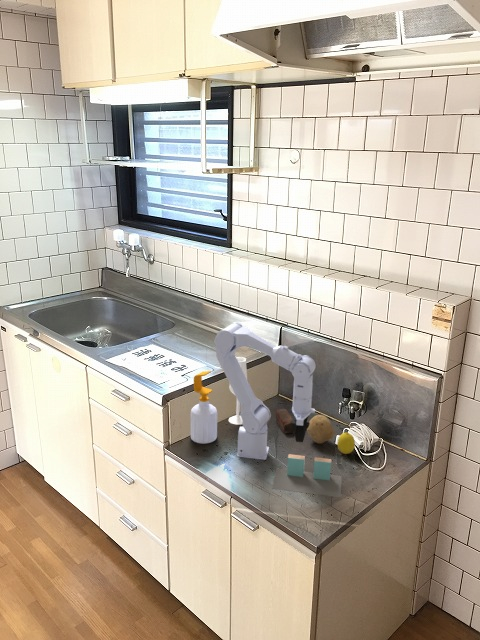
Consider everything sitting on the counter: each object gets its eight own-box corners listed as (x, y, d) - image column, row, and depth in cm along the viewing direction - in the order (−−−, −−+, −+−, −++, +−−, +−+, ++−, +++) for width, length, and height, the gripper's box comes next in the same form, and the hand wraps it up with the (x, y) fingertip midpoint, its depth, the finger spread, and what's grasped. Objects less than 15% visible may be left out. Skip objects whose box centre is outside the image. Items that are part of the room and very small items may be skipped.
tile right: (313, 478, 169) (314, 461, 168) (313, 474, 171) (314, 457, 170) (329, 480, 169) (331, 463, 167) (329, 476, 171) (331, 459, 169)
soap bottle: (207, 447, 186) (207, 379, 179) (185, 439, 191) (185, 372, 183) (222, 435, 193) (223, 370, 186) (200, 428, 198) (200, 364, 190)
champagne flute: (234, 426, 200) (236, 364, 193) (225, 418, 206) (226, 357, 198) (250, 421, 204) (252, 360, 196) (240, 414, 209) (242, 354, 202)
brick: (275, 420, 205) (275, 409, 204) (285, 419, 206) (286, 408, 205) (283, 434, 196) (284, 422, 194) (294, 433, 196) (295, 421, 195)
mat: (272, 489, 164) (272, 488, 164) (276, 469, 174) (276, 468, 174) (340, 498, 161) (341, 497, 161) (341, 477, 171) (341, 476, 171)
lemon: (353, 459, 181) (355, 437, 178) (336, 457, 182) (338, 435, 179) (353, 450, 186) (355, 429, 184) (336, 448, 187) (338, 427, 185)
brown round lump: (300, 437, 194) (302, 411, 191) (323, 433, 197) (325, 408, 194) (313, 450, 186) (315, 423, 182) (336, 446, 189) (339, 419, 186)
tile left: (286, 475, 171) (287, 457, 169) (287, 471, 173) (288, 454, 171) (303, 477, 170) (304, 459, 168) (303, 473, 172) (304, 456, 170)
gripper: (314, 407, 163) (311, 448, 167) (316, 387, 176) (314, 425, 180) (290, 405, 164) (288, 446, 168) (294, 385, 178) (292, 423, 182)
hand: (300, 435), depth 174 cm, fingers open, 7 cm apart
